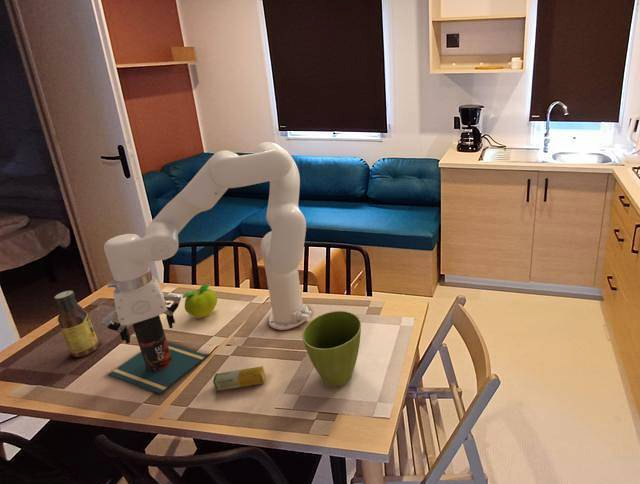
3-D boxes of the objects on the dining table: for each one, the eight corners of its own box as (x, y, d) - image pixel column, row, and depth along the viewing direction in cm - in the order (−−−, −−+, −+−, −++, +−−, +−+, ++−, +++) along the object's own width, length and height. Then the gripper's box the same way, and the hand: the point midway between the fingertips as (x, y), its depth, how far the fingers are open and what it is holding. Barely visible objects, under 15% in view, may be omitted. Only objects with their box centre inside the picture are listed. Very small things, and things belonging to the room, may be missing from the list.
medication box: (215, 392, 102) (211, 381, 101) (219, 383, 105) (215, 372, 103) (264, 383, 104) (261, 373, 103) (266, 375, 107) (263, 364, 105)
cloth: (207, 356, 114) (207, 354, 114) (160, 394, 102) (159, 392, 101) (159, 340, 120) (158, 339, 120) (109, 374, 108) (108, 373, 108)
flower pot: (302, 371, 109) (295, 324, 104) (352, 348, 117) (348, 303, 112) (319, 409, 97) (312, 358, 92) (374, 381, 105) (370, 332, 100)
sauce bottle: (104, 346, 118) (84, 291, 112) (78, 361, 113) (56, 303, 106) (92, 340, 121) (72, 285, 114) (67, 354, 115) (44, 297, 109)
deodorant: (158, 373, 108) (145, 329, 103) (141, 370, 109) (126, 326, 104) (177, 357, 113) (164, 315, 108) (160, 354, 114) (147, 312, 110)
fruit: (182, 317, 131) (175, 292, 128) (210, 302, 138) (205, 278, 135) (196, 327, 126) (190, 301, 123) (225, 311, 134) (219, 286, 131)
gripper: (89, 299, 94) (109, 355, 100) (174, 275, 104) (188, 327, 110) (92, 285, 100) (110, 339, 105) (172, 263, 110) (186, 313, 115)
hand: (150, 333), depth 108 cm, fingers open, 9 cm apart
